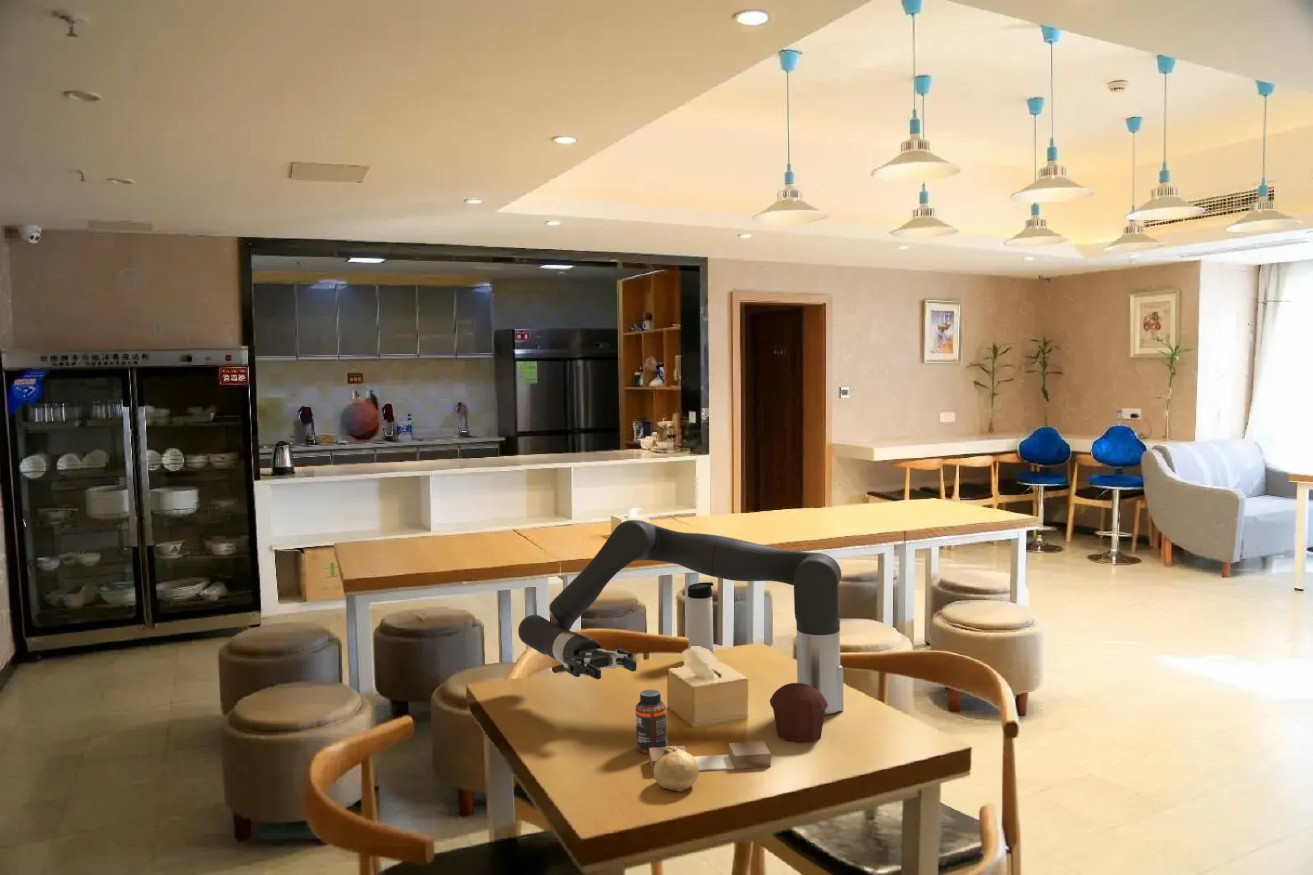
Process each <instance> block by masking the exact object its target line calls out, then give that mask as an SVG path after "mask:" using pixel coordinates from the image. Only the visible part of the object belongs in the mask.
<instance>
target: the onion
mask: <svg viewBox="0 0 1313 875" xmlns="http://www.w3.org/2000/svg"><path fill="white" fill-rule="evenodd" d="M694 757H695V756H693V755H692V754H690V753H689V752H687V751H686V752H685V751H683V750H680V749H678V748H677V747H676V745H673V746H668V745H667V747H665V748H664V749H663V753H662V754H661V755H660V756H659V758H658V759H657V761H656V763H655V765H654V774H653V776H654V779H655V781H656V782H657V784H658V786H659V787H661V788H662V789H666V790H669V791H671V792H672V791H673V792H676V791H677V792H680V793H682V792H684V791H686V790H688V789H689V788H691V787H692V786H693V785H694V784H695V783H696V782H697V780H698V778H699V773H700V771H699V768H698V764H697V762H696V760H695V759H694Z"/></svg>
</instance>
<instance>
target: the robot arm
mask: <svg viewBox="0 0 1313 875" xmlns="http://www.w3.org/2000/svg"><path fill="white" fill-rule="evenodd" d="M635 561H636V562H637V561H652V562H654V561H655V562H664V563H669V564H670V563H671V564H675V565H679V566H682V567H683V568H686V569H688V570H691V571H694V572H696V573H699V574H702V575H706V576H710V577H713V578H718V579H722V580H728V581H735V582H777V583H782V584H786V585H790V586H793V602H794V603H793V607H794V618H795V622H796V676H797V677H796V683H803V684H807V685H810V686H812V687H813V688H815V689H817V690H818V691H819V692H820V693H821V694H822V695H823V696H824V698H825V700H826V701H827V704H828V706H827V708H826V709H825V712H824V716H825V715H831V714H835V713H837V712H844V667H843V666H842V665H841V639H840V638H841V631H840V630H841V620H840V616H839V599H838V598H839V596H838V592H839V591H838V588H839V587H838V586H839V584H840V582H841V579H842V570H841V566H840V565H839V563H838V562H837V561H836V560H835V559H834V558H833V557H832V556H829V554H825V553H820V552H809V551H797V550H787V549H780V548H777V547H776V548H775V547H772V546H768V545H764V544H761V543H756V542H752V541H751V542H750V541H747V540H743V539H738V538H734V537H728V536H723V535H717V534H710V533H701V532H699V533H698V532H697V533H695V532H694V533H693V532H681V531H677V530H672V529H668V528H665V527H663V526H662V527H661V526H658V525H655V524H653V523H650V522H647V521H643V520H637V519H631V520H630V519H629V520H628V519H627V520H625V521H622V522H620V523H619V524H618V525H617V526H616V527H615V528H614V530H613V531H612V533H611V534H610V535H609V537H608V538H607V540H606V541H605V543H604V544H603V545H602V547H601V548H600V550H599V551H598V552H597V553H596V554H595V556H594V557H593V558H592V560H591V561H590V562H589V563H588V564H587V565H586V566H585V568H584V569H583V570H581V572H580V573H578V574H577V576H576V577H574V579H573V580H572V581H571V582H570V583H569V584H568V585H567V586H566V587H565V588H564V589H563V590H561V592H560V593H559V594H558V595H557V596H556V597H555V598H554V599H553V600H552V601H551V602H550V605H549V611H550V613H551V615H552V616H553V617H554V619H555V621H554V622H551V621H550V620H548V619H546V618H544V617H543V616H541V615H539V614H531V615H528V616H526V617H524V618H523V619H522V620H521V621H520V623H519V625H518V628H517V632H518V633H517V634H518V638H519V639H520V641H521V642H522V643H524V644H525V645H526V646H529V647H530V648H532V649H533V650H535V651H537V652H538V653H540V654H542V655H545V656H546V655H547V656H549V658H550V657H551V659H554V660H555V661H557V662H559V664H560V663H561V664H562V665H563V671H564V672H567V673H568V674H569V675H572V676H573V677H576V678H579V677H581V675H583V676H584V677H590V678H593V679H595V680H601V679H602V670H603V669H613V670H615V669H617V668H623V669H625V670H628V671H629V672H636V671H637V660H634V653H633V652H632V651H629V650H626V649H623V648H621V647H619V646H616V647H614V648H613V650H606V649H605V648H602V647H601V645H600V643H599V642H598V641H596V640H595V639H593V638H590V637H588V636H586V635H584V634H581V633H579V632H575V631H572V630H571V629H572V627H573V626H574V623H575V622H576V621H577V620H578V619H579V618H580V617H581V616H582V615H583V614H584V613H585V612H586V611H587V610H588V609H589V608H590V607H591V605H593V603H594V602H595V601H596V600H597V599H598V597H599V596H600V594H601V593H602V591H603V590H604V589H605V587H606V586H607V584H608V583H609V582H610V581H611V580H612V579H613V577H615V576H616V575H617V574H619V572H620V571H621V570H622V569H624V568H626V567H627V566H628V565H630V564H631V563H632V562H635ZM611 659H612V663H611Z"/></svg>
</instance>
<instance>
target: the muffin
mask: <svg viewBox="0 0 1313 875" xmlns="http://www.w3.org/2000/svg"><path fill="white" fill-rule="evenodd" d="M769 704H770V706H771V708H772V710H773V716H774V722H775V728H776V734H777V737H778V738H780V739H782V740H783V741H785V742H790V743H796V744H804V743H805V744H806V743H814V742H815V741H817V740H820V739H822V732H823V726H824V725H823V724H824V719H825V718H824V717H825V715H824V712H825V709H826V708H827V706H828V704H827V701H826V700H825V698H824V696H823V695H822V694H821V693H820V692H819V691H818V690H817V689H815V688H813V687H812V686H810V685H807V684H803V683H797V682H790V683H787V684H784V685H781V687H779V688H778V689H776V691H775V692H773V694H772V696H771V697H770V699H769Z"/></svg>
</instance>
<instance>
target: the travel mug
mask: <svg viewBox="0 0 1313 875" xmlns="http://www.w3.org/2000/svg"><path fill="white" fill-rule="evenodd" d="M712 587H714V582H713V581H709V582H708V581H707V582H706V581H704V582H696V583H693V584H690V585H688V587H687V625H688V628H687V630H688V634H687V635H688V636H687V637H688V649H689V648H690V647H691V646H701V647H703V648H706V649H709V650H710V651H711V652H712V653H713V654H714V623H713V622H714V621H713V620H714V619H713V618H714V615H713V614H714V613H713V609H714V608H713V589H712Z"/></svg>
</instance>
